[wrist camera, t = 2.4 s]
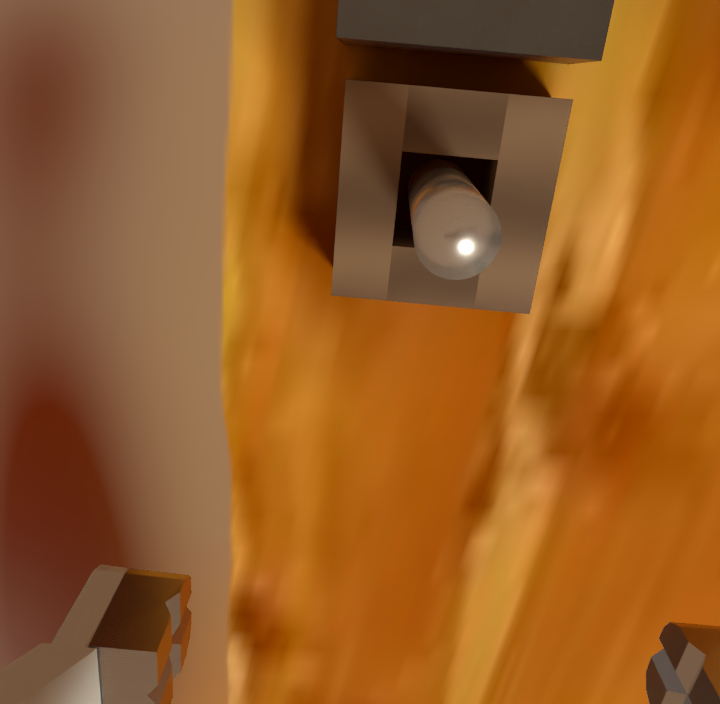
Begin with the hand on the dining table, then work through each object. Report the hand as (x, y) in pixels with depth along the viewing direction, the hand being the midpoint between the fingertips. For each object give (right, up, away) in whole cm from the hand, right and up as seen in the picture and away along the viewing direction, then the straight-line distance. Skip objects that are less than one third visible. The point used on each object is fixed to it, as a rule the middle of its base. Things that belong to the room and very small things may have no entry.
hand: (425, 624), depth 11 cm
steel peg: (+3, +13, +22) cm, 26 cm away
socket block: (+3, +13, +22) cm, 26 cm away
